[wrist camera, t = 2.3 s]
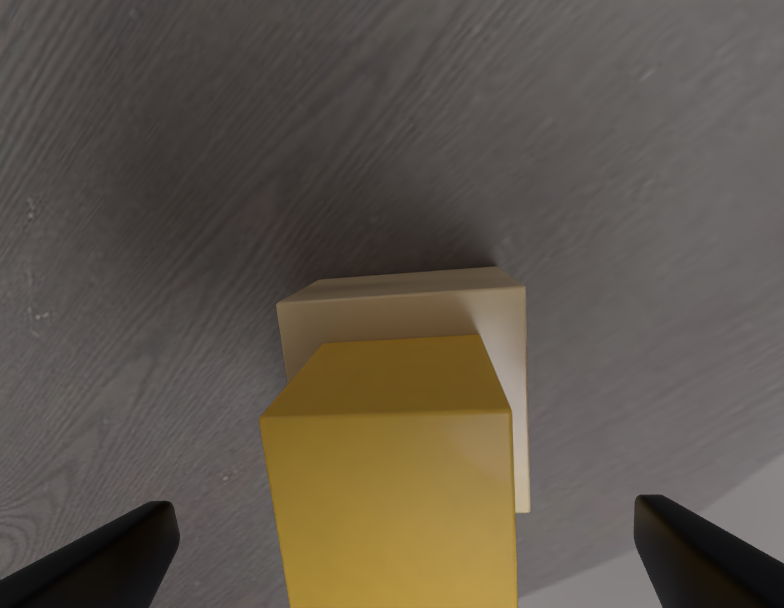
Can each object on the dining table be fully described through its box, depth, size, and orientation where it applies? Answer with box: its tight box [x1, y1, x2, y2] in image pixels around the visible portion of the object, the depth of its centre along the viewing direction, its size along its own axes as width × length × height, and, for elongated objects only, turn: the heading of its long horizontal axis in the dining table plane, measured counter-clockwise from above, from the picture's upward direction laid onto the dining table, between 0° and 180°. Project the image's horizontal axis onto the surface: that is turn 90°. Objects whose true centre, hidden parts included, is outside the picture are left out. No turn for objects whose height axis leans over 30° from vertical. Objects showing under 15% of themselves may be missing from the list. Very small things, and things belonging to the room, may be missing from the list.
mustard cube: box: [259, 334, 518, 608], centre depth 10 cm, size 4×4×4 cm
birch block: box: [276, 266, 530, 513], centre depth 14 cm, size 7×7×4 cm
